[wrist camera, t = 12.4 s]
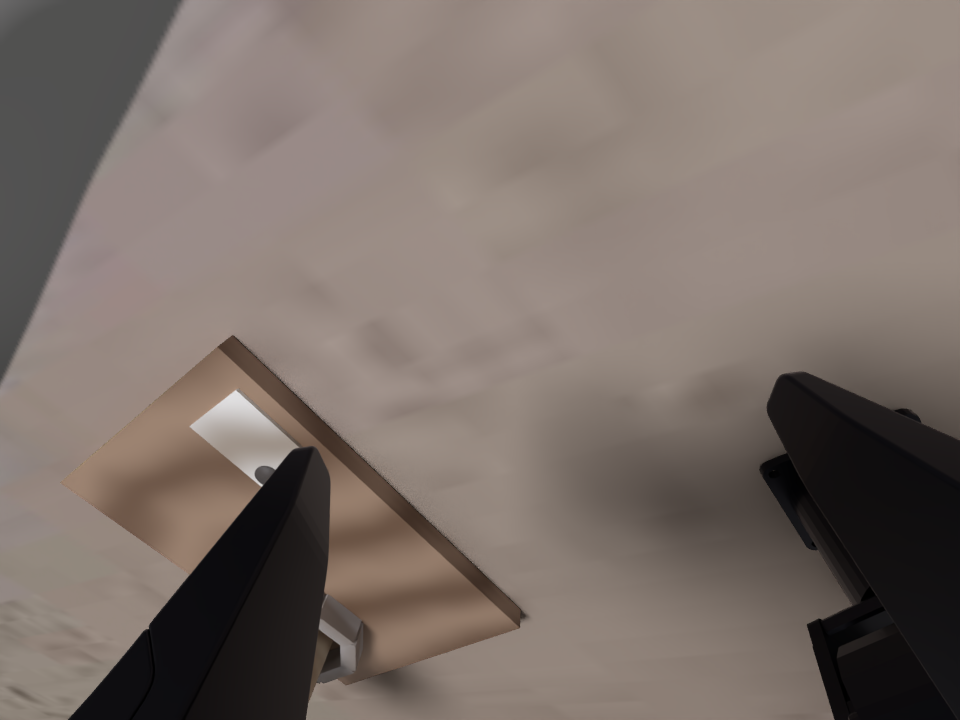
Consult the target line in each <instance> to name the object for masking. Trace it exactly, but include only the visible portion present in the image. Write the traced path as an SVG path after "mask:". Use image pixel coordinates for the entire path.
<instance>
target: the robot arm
mask: <svg viewBox="0 0 960 720" xmlns="http://www.w3.org/2000/svg"><path fill="white" fill-rule="evenodd" d="M767 413H768V416H769V418H770V420H771V422H772V424H773V426H774V428H775V430H776V432H777V434H778V436H779V438H780V440H781V442H782V443H783V445H784V447H785V449H786V451H787V454H784V455H782V456H779V457H777V458H774V459H772V460H769V461H767V462H765V463H763V464H762V465H761V466H760V469H759V470H760V473H761V475H762V476H763V478H764V480H765V481H766V483H767V485H768V486H769V488H770V489H771V491H772V492H773V494H774V496H775V497H776V499H777V500H778V502H779V504H780V505H781V507H782V508H783V510H784V512H785V513H786V515H787V516H788V518H789V519H790V521H791V523H792V524H793V526H794V527H795V529H796V531H797V532H798V534H799V535H800V537H801V539H802V540H803V542H804V543H805V545H806V546H807V548H809V549H811V550H819V552H820V553H821V555H822V557H823V558H824V560H825V562H826V563H827V565H828V566H829V568H830V570H831V571H832V573H833V575H834V576H835V578H836V579H837V581H838V583H839V584H840V586H841V588H842V589H843V591H844V592H845V594H846V596H847V597H848V599H849V601H850V602H851V604H852V605H853V606H851V607H849V608H846V609H844V610H842V611H840V612H838V613H836V614H834V615H832V616H830V617H827V618H825V619H823V620H821V619H817V620H815V621H813V622H811V623H808V624H807V627H808V631H809V634H810V637H811V641H812V644H813V650H814V653H815V656H816V660H817V663H818V666H819V670H820V673H821V676H822V680H823V683H824V686H825V689H826V693H827V696H828V699H829V703H830V706H831V709H832V713H833V716H834V719H835V720H960V440H958V439H955V438H953V437H951V436H949V435H946V434H944V433H942V432H940V431H937V430H935V429H933V428H931V427H928V426H926V425H924V424H922V423H921V421H920V418H919V417H918V416H917V415H916V414H915V413H913V412H912V411H911V410H909V409H899V410H895V411H892V410H890V409H888V408H886V407H883V406H881V405H879V404H876V403H874V402H872V401H870V400H867V399H865V398H863V397H861V396H858V395H856V394H854V393H852V392H849V391H847V390H845V389H843V388H840V387H838V386H836V385H834V384H831V383H829V382H827V381H825V380H822V379H820V378H818V377H816V376H813V375H811V374H809V373H806V372H793V373H787V374H782V375H781V376H779V377H778V379H777V381H776V383H775V385H774V388H773V390H772V393H771V395H770V398H769V400H768V403H767ZM773 470H775V471H774V472H771V471H773ZM330 493H331V480H330V475H329V472H328V469H327V467H326V465H325V463H324V461H323V459H322V457H321V455H320V453H319V450H318V449H317V448H316V447H315V446H307V447H301V448H295V449H293V450H292V451H290V453H289V454H288V455H287V456H286V457H285V459H284V460H283V461H282V462H281V464H280V465H279V466H278V467H277V468H276V470H275V471H274V472H273V473H272V475H271V476H270V477H269V478H268V479H267V481H266V482H265V483H264V484H263V486H262V487H261V488H260V489H259V491H258V492H257V493H256V494H255V495H254V497H253V498H252V499H251V500H250V502H249V503H248V504H247V505H246V506H245V508H244V509H243V510H242V511H241V513H240V514H239V515H238V516H237V517H236V519H235V520H234V521H233V522H232V524H231V525H230V526H229V527H228V529H227V530H226V531H225V532H224V533H223V535H222V536H221V537H220V538H219V540H218V541H217V542H216V543H215V544H214V546H213V547H212V548H211V549H210V551H209V552H208V553H207V554H206V556H205V557H204V558H203V559H202V560H201V562H200V563H199V564H198V565H197V567H196V568H195V569H194V570H193V571H192V573H191V574H190V575H189V576H188V578H187V579H186V580H185V581H184V582H183V584H182V585H181V586H180V587H179V589H178V590H177V591H176V592H175V594H174V595H173V596H172V597H171V598H170V600H169V601H168V602H167V603H166V605H165V606H164V607H163V608H162V609H161V611H160V612H159V613H158V614H157V616H156V617H155V618H154V619H153V621H152V622H151V623H150V624H149V629H146V630H144V631H143V633H142V634H141V635H140V636H139V637H138V639H137V640H136V641H135V642H134V644H133V645H132V646H131V647H130V648H129V650H128V651H127V652H126V653H125V655H124V656H123V657H122V658H121V659H120V660H119V662H118V663H117V664H116V665H115V666H114V668H113V669H112V670H111V671H110V672H109V673H108V675H107V676H106V677H105V678H104V679H103V681H102V682H101V683H100V684H99V685H98V687H97V688H96V689H95V690H94V691H93V692H92V694H91V695H90V696H89V697H88V698H87V699H86V700H85V701H84V702H83V704H82V705H81V706H80V707H79V708H78V709H77V710H76V711H75V712H74V714H73V715H72V716H71V717H70V718H69V719H68V720H306V714H307V707H308V700H309V693H310V686H311V680H312V673H313V666H314V659H315V652H316V645H317V638H318V631H319V624H320V617H321V610H322V603H323V596H324V589H325V582H326V576H327V567H328V558H329V530H330Z"/></svg>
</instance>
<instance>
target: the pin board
mask: <svg viewBox="0 0 960 720" xmlns="http://www.w3.org/2000/svg"><path fill="white" fill-rule="evenodd" d="M307 446H315V447H316V448H317V449H318V450H319V453H320V455H321V457H322V459H323V461H324V463H325V465H326V467H327V469H328V472H329V475H330V480H331V493H330V530H329V558H328V567H327V576H326V582H325V589H324V596H323V603H322V610H321V617H320V624H319V630H320V631H322V632H323V633H324V634H326V635H327V636H328V637H330V638H331V639H332V640H333V642H332V645H331V647H330V650H329V652H328V655H327V657H326V660H325V662H324V665H323V667H322V670H321V672H320V675H319V677H318V680H317V682H316V683H319V684H320V682H322V683H323V684H324V683H327V682H329V681H332V680H335V679H338V680H339V681H341V682H342V683H344V684H345V685H349V684H352V683H355V682H358V681H361V680H364V679H367V678H370V677H373V676H376V675H379V674H382V673H385V672H388V671H391V670H394V669H397V668H400V667H403V666H406V665H409V664H412V663H415V662H418V661H421V660H424V659H428V658H431V657H434V656H437V655H440V654H443V653H446V652H449V651H452V650H455V649H458V648H461V647H464V646H467V645H470V644H473V643H476V642H479V641H482V640H485V639H488V638H491V637H494V636H497V635H500V634H503V633H506V632H509V631H512V630H515V629H519V628H520V614H521V610H520V609H519V608H518V607H517V606H516V605H515V604H514V603H513V602H512V601H511V600H510V599H509V598H508V597H507V596H506V595H505V594H504V593H502V592H501V591H500V590H499V589H498V588H497V587H496V586H495V585H494V584H493V583H492V582H491V581H490V580H489V579H488V578H487V577H486V576H485V575H484V574H482V573H481V572H480V571H479V570H478V569H477V568H476V567H475V566H474V565H473V564H472V563H471V562H470V561H469V560H468V559H467V558H466V557H465V556H464V555H463V554H461V553H460V552H459V551H458V550H457V549H456V548H455V547H454V546H453V545H452V544H451V543H450V542H449V541H448V540H447V539H446V538H445V537H444V536H443V535H442V534H440V533H439V532H438V531H437V530H436V529H435V528H434V527H433V526H432V525H431V524H430V523H429V522H428V521H427V520H426V519H425V518H424V517H423V516H422V515H421V514H419V513H418V512H417V511H416V510H415V509H414V508H413V507H412V506H411V505H410V504H409V503H408V502H407V501H406V500H405V499H404V498H403V497H402V496H401V495H400V494H398V493H397V492H396V491H395V490H394V489H393V488H392V487H391V486H390V485H389V484H388V483H387V482H386V481H385V480H384V479H383V478H382V477H381V476H380V475H379V474H377V473H376V472H375V471H374V470H373V469H372V468H371V467H370V466H369V465H368V464H367V463H366V462H365V461H364V460H363V459H362V458H361V457H360V456H359V455H358V454H356V453H355V452H354V451H353V450H352V449H351V448H350V447H349V446H348V445H347V444H346V443H345V442H344V441H343V440H342V439H341V438H340V437H339V436H338V435H337V434H335V433H334V432H333V431H332V430H331V429H330V428H329V427H328V426H327V425H326V424H325V423H324V422H323V421H322V420H321V419H320V418H319V417H318V416H317V415H316V414H314V413H313V412H312V411H311V410H310V409H309V408H308V407H307V406H306V405H305V404H304V403H303V402H302V401H301V400H300V399H299V398H298V397H297V396H296V395H295V394H293V393H292V392H291V391H290V390H289V389H288V388H287V387H286V386H285V385H284V384H283V383H282V382H281V381H280V380H279V379H278V378H277V377H276V376H275V375H274V374H272V373H271V372H270V371H269V370H268V369H267V368H266V367H265V366H264V365H263V364H262V363H261V362H260V361H259V360H258V359H257V358H256V357H255V356H254V355H253V354H251V353H250V352H249V351H248V350H247V349H246V348H245V347H244V346H243V345H242V344H241V343H240V342H239V341H238V340H237V339H236V338H235V337H234V336H233V335H232V336H231V337H230V338H228V339H227V340H226V341H224V342H223V343H222V344H220V345H219V346H218V347H217V348H216V349H214V350H213V351H212V352H211V353H210V354H209V355H207V356H206V357H205V358H204V359H203V360H202V361H200V362H199V363H198V364H197V365H196V366H195V367H193V368H192V369H191V370H190V371H189V372H188V373H187V374H185V375H184V376H183V377H182V378H181V379H180V380H178V381H177V382H176V383H175V384H174V385H173V386H171V387H170V388H169V389H168V390H167V391H166V392H164V393H163V394H162V395H161V396H160V397H159V398H158V399H156V400H155V401H154V402H153V403H152V404H151V405H149V406H148V407H147V408H146V409H145V410H144V411H142V412H141V413H140V414H139V415H138V416H137V417H135V418H134V419H133V420H132V421H131V422H130V423H129V424H127V425H126V426H125V427H124V428H123V429H122V430H120V431H119V432H118V433H117V434H116V435H115V436H113V437H112V438H111V439H110V440H109V441H108V442H106V443H105V444H104V445H103V446H102V447H101V448H100V449H98V450H97V451H96V452H95V453H94V454H93V455H91V456H90V457H89V458H88V459H87V460H86V461H84V462H83V463H82V464H81V465H80V466H79V467H77V468H76V469H75V470H74V471H73V472H72V473H70V474H69V475H68V476H67V477H66V478H65V479H64V480H62V481H61V482H60V483H61V484H62V485H64V486H65V487H67V488H68V489H70V490H71V491H72V492H74V493H75V494H77V495H78V496H79V497H81V498H82V499H84V500H85V501H86V502H88V503H89V504H91V505H92V506H94V507H95V508H96V509H98V510H99V511H101V512H102V513H103V514H105V515H106V516H108V517H109V518H111V519H112V520H113V521H115V522H116V523H118V524H119V525H120V526H122V527H123V528H125V529H126V530H127V531H129V532H130V533H132V534H133V535H135V536H136V537H137V538H139V539H140V540H142V541H143V542H144V543H146V544H147V545H149V546H150V547H151V548H153V549H154V550H156V551H157V552H159V553H160V554H161V555H163V556H164V557H166V558H167V559H168V560H170V561H171V562H173V563H174V564H176V565H177V566H178V567H180V568H181V569H183V570H184V571H185V572H187V573H188V574H191V573H192V571H193V570H194V569H195V568H196V567H197V565H198V564H199V563H200V562H201V560H202V559H203V558H204V557H205V556H206V554H207V553H208V552H209V551H210V549H211V548H212V547H213V546H214V544H215V543H216V542H217V541H218V540H219V538H220V537H221V536H222V535H223V533H224V532H225V531H226V530H227V529H228V527H229V526H230V525H231V524H232V522H233V521H234V520H235V519H236V517H237V516H238V515H239V514H240V513H241V511H242V510H243V509H244V508H245V506H246V505H247V504H248V503H249V502H250V500H251V499H252V498H253V497H254V495H255V494H256V493H257V492H258V491H259V489H260V488H261V487H262V486H263V484H264V483H265V482H266V481H267V479H268V478H269V477H270V476H271V475H272V473H273V472H274V471H275V470H276V468H277V467H278V466H279V465H280V464H281V462H282V461H283V460H284V459H285V457H286V456H287V455H288V454H289V453H290V451H292V450H293V449H295V448H301V447H307Z"/></svg>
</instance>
